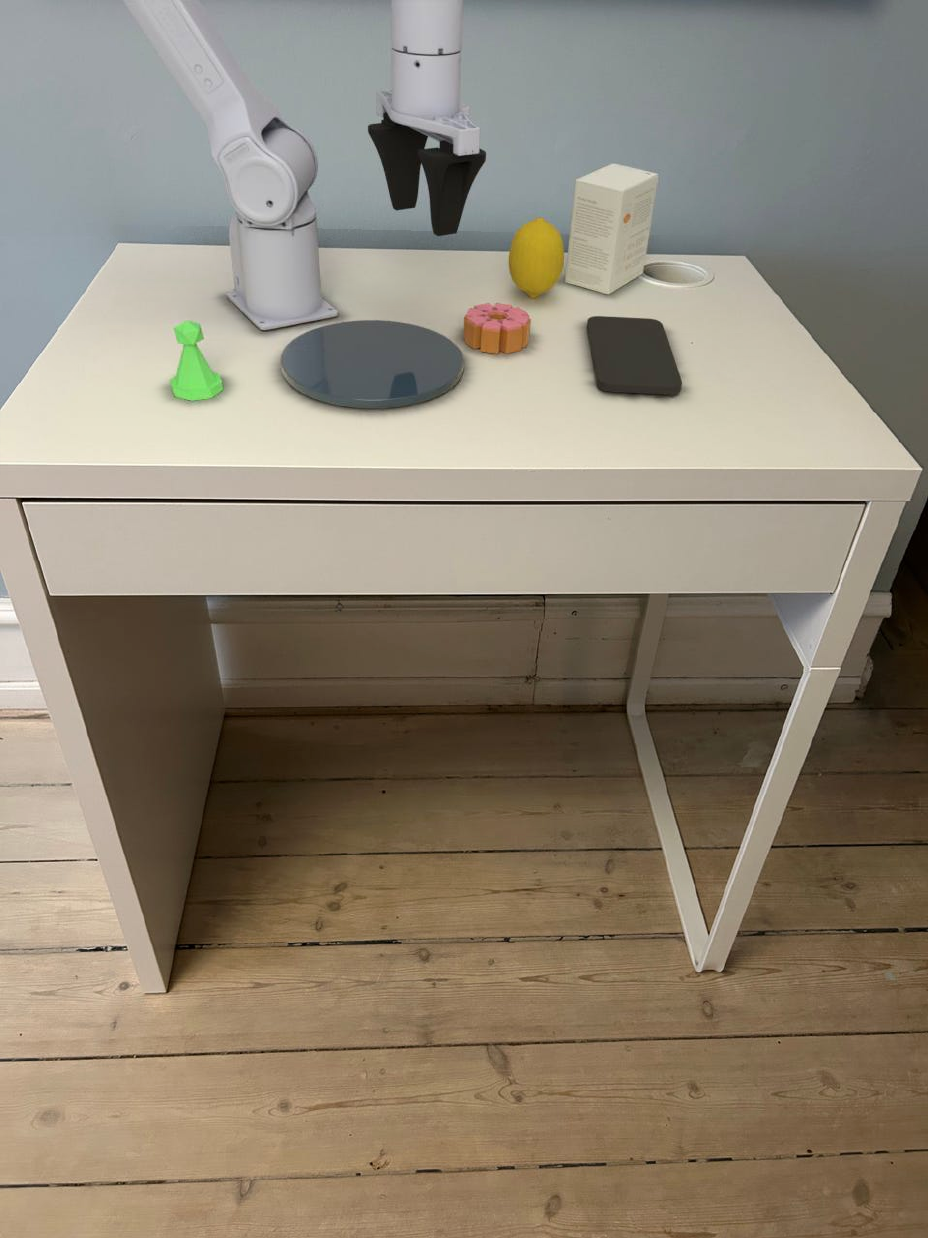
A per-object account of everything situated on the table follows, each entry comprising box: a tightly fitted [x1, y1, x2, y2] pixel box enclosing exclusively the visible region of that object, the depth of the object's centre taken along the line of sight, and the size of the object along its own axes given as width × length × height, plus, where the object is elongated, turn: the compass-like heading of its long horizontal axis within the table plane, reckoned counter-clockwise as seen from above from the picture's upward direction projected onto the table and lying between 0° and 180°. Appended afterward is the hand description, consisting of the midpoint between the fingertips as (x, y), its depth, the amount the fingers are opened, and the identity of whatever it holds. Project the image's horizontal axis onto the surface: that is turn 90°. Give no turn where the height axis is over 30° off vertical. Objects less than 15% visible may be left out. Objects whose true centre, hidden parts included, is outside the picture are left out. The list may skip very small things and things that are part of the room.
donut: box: [462, 302, 532, 355], centre depth 89 cm, size 6×6×2 cm
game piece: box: [169, 320, 224, 402], centre depth 78 cm, size 4×4×6 cm
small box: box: [564, 162, 660, 295], centre depth 100 cm, size 8×6×10 cm
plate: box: [280, 319, 465, 409], centre depth 84 cm, size 16×16×1 cm
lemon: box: [508, 216, 565, 299], centre depth 96 cm, size 6×6×8 cm
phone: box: [586, 315, 683, 395], centre depth 88 cm, size 7×1×15 cm
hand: (424, 220), depth 87 cm, fingers open, 7 cm apart
